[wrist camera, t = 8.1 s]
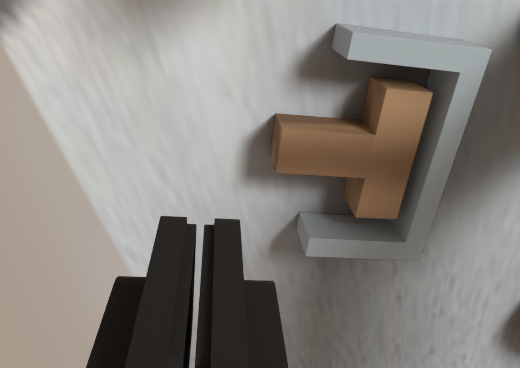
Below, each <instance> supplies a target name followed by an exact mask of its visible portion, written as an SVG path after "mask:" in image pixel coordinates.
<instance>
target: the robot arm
mask: <svg viewBox="0 0 520 368" xmlns="http://www.w3.org/2000/svg"><path fill="white" fill-rule="evenodd" d="M195 248H196V224H187V217H171V216H161V217H160V221H159V225H158V230H157V234H156V238H155V242H154V246H153V251H152V255H151V259H150V263H149V267H148V272H147V276H146V277H123V276H118V277H117V278H116V280H115V282H114V285H113V288H112V291H111V294H110V297H109V300H108V303H107V306H106V309H105V312H104V315H103V318H102V321H101V324H100V327H99V330H98V333H97V336H96V339H95V342H94V345H93V349H92V351H91V354H90V357H89V360H88V363H87V366H86V368H189V361H190V348H191V336H192V320H193V297H194V272H195ZM195 368H288V363H287V356H286V350H285V344H284V338H283V331H282V325H281V319H280V313H279V306H278V300H277V294H276V288H275V283H274V282H273V281H254V280H244V275H243V259H242V244H241V229H240V220H237V219H215V222H214V225H204V239H203V254H202V269H201V284H200V298H199V313H198V328H197V343H196V358H195Z"/></svg>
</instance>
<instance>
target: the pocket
mask: <svg viewBox="0 0 520 368" xmlns="http://www.w3.org/2000/svg"><path fill="white" fill-rule="evenodd" d="M332 49H333V50H335V51H336V52H337V53H339V54H340V55H342V56H343V57H345V58H346V59H349V60H358V61H366V62H375V63H383V64H392V65H401V66H409V67H418V68H427V69H431V70H430V73H429V77H428V80H427V84H426V87H425V88H426V89H427V90H429V91H431V92H433V95H432V98H431V102H430V105H429V109H428V112H427V116H426V119H425V123H424V126H423V129H422V133H421V136H420V140H419V143H418V147H417V150H416V154H415V157H414V160H413V164H412V167H411V171H410V174H409V178H408V181H407V185H406V188H405V192H404V195H403V198H402V202H401V205H400V209H399V212H398V216H397V219H379V218H356V217H355V216H354V215H338V214H321V213H303V212H300V213H299V218H298V223H297V228H296V230H297V233H298V236H299V239H300V241H301V244H302V247H303V250H304V253H305V256H312V257H336V258H360V259H384V260H408V261H420V258H421V255H422V252H423V249H424V246H425V243H426V240H427V237H428V234H429V231H430V229H431V226H432V223H433V220H434V217H435V214H436V211H437V208H438V205H439V202H440V200H441V197H442V194H443V191H444V188H445V185H446V182H447V179H448V176H449V173H450V171H451V168H452V165H453V162H454V159H455V156H456V153H457V150H458V147H459V144H460V142H461V139H462V136H463V133H464V130H465V127H466V124H467V121H468V118H469V115H470V113H471V110H472V107H473V104H474V101H475V98H476V95H477V92H478V89H479V86H480V84H481V81H482V78H483V75H484V72H485V69H486V66H487V63H488V60H489V57H490V55H491V52H492V49H490V48H486V47H483V46H480V45H477V44H474V43H470V42H467V41H464V40H460V39H452V38H444V37H436V36H429V35H421V34H413V33H405V32H398V31H390V30H382V29H374V28H367V27H359V26H351V25H343V24H336V27H335V32H334V38H333V43H332Z"/></svg>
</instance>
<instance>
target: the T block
mask: <svg viewBox="0 0 520 368" xmlns="http://www.w3.org/2000/svg"><path fill="white" fill-rule="evenodd" d="M432 95H433V92H431V91H429V90H427V89H426V88H424V87H422V86H420V85H419V84H417V83H415V82H414V81H407V80H397V79H387V78H376V77H370V81H369V85H368V89H367V94H366V98H365V103H364V107H363V112H362V116H361V120H351V119H338V118H326V117H313V116H301V115H289V114H276V113H275V118H274V125H273V133H272V140H271V147H270V154H269V155H270V158H271V161H272V164H273V166H274V169H275V172H276V173H285V174H302V175H319V176H336V177H348V179H347V183H346V187H345V192H344V196H343V197H344V199H345V201H346V202H347V204H348V206H349V207H350V209H351V211H352V212H353V214H354V216H355V217H356V218H379V219H397V216H398V212H399V209H400V205H401V202H402V198H403V195H404V192H405V188H406V185H407V181H408V178H409V174H410V171H411V167H412V164H413V160H414V157H415V154H416V150H417V147H418V143H419V140H420V136H421V133H422V129H423V126H424V123H425V119H426V116H427V112H428V109H429V105H430V102H431V98H432Z"/></svg>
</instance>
